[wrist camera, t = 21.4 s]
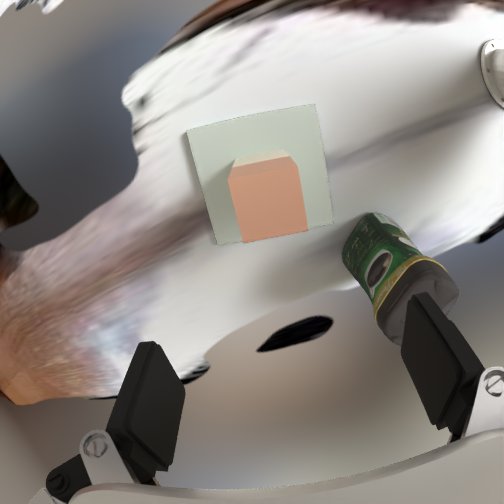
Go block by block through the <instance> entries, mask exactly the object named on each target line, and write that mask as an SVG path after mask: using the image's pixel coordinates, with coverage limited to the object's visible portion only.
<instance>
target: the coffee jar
mask: <svg viewBox="0 0 504 504" xmlns="http://www.w3.org/2000/svg"><path fill="white" fill-rule="evenodd" d="M342 259H343V262H344V264H345V266H346V267H347V269H348V270H349V272H350V273H351V274H352V275H353V276H354V278H355V279H356V280H357V281H358V282H359V284H360V285H361V286H362V288H363V289H364V290H365V292H366V293H367V295H368V296H369V298H370V300H371V302H372V304H373V311H374V318H375V320H376V323H377V325H378V326H379V327H380V329H381V330H382V331H383V333H384V334H385V336H387V338H388V339H389V340H390V341H392V342H393V343H395V344H397V345H400V346H402V340H403V333H404V326H405V318H406V310H407V302H408V300H411V297H412V295H414V294H418V293H422V292H425V291H426V292H428V293H429V295H430V296H431V297H432V298H433V300H434V301H435V302H436V304H437V305H438V306H439V308H440V309H441V310H442V312H443V313H444V314H445V316H447V315H448V313H449V312H450V310H451V309H452V308H453V306H454V304H455V303H456V301H457V298H458V296H459V290H458V288H457V286H456V284H455V282H454V281H453V280H452V278H451V277H450V276H449V274H448V273H447V271H446V269H445V268H444V267H443V266H442V265H441V264H440V263H438V262H437V261H435V260H434V259H432V258H430V257H427V256H423V255H422V254H421V252H420V251H419V250H418V249H417V248H416V247H415V245H414V244H413V243H412V241H411V240H410V239H409V238H408V236H407V235H406V234H405V232H404V231H403V230H402V229H401V228H400V227H399V225H397V224H396V223H395V222H394V221H393V220H391V219H390V218H388V217H387V216H385V215H382V214H379V213H370V214H368V215H366V216H365V217H363V218H362V220H361V221H360V222H359V223H358V225H357V226H356V227H355V229H354V230H353V232H352V234H351V235H350V237H349V239H348V241H347V243H346V245H345V247H344V250H343V253H342Z"/></svg>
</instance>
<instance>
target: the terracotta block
mask: <svg viewBox="0 0 504 504" xmlns="http://www.w3.org/2000/svg"><path fill="white" fill-rule="evenodd" d="M228 184H229V188H230V192H231V196H232V200H233V204H234V208H235V212H236V216H237V220H238V224H239V228H240V232H241V236H242V240H243V243H247V242H252V241H257V240H262V239H267V238H272V237H278V236H283V235H288V234H293V233H298V232H304V231H308V225H307V218H306V212H305V206H304V200H303V194H302V188H301V182H300V176H299V171H298V166H297V164H296V163H295V162H294V161H293V160H292V158H291V157H290V156H287V157H281V158H276V159H271V160H266V161H261V162H256V163H251V164H246V165H242V166H237V167H233V168H232V170H231V172H230V175H229V177H228Z"/></svg>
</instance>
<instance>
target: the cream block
mask: <svg viewBox="0 0 504 504" xmlns="http://www.w3.org/2000/svg"><path fill="white" fill-rule="evenodd" d="M287 156H289V155H288V154H287V153H286V151H285V150H284V149H281V150H276V151H271V152H266V153H261V154H256V155H251V156H247V157H242V158H238V159H235V161H234V164H233V166H232V168H233V167H237V166H242V165H246V164H251V163H256V162H261V161H266V160H271V159H276V158H281V157H287Z"/></svg>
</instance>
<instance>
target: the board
mask: <svg viewBox="0 0 504 504" xmlns="http://www.w3.org/2000/svg"><path fill="white" fill-rule="evenodd" d="M187 135H188V139H189V143H190V147H191V151H192V155H193V158H194V162H195V166H196V170H197V173H198V177H199V181H200V184H201V188H202V192H203V195H204V199H205V203H206V206H207V210H208V213H209V217H210V220H211V224H212V227H213V231H214V234H215V238H216V241H217V245H218V246H220V245H225V244H231V243H236V242H241V241H243V240H242V236H241V232H240V228H239V224H238V220H237V216H236V212H235V208H234V204H233V200H232V196H231V192H230V188H229V184H228V177H229V175H230V172H231V170H232V166H233V164H234V161H235V159H238V158H242V157H247V156H251V155H256V154H261V153H266V152H271V151H276V150H281V149H284V150H285V151H286V153H287V154H288V155H289V156H290V157H291V158H292V160H293V161H294V162H295V163H296V164H297V166H298V171H299V176H300V182H301V188H302V194H303V200H304V206H305V212H306V218H307V225H308V228H313V227H319V226H324V225H329V224H334V221H333V212H332V204H331V196H330V189H329V182H328V175H327V168H326V162H325V156H324V149H323V144H322V138H321V132H320V127H319V121H318V116H317V111H316V106H315V104H311V105H304V106H297V107H291V108H285V109H279V110H273V111H268V112H263V113H258V114H253V115H248V116H243V117H239V118H234V119H230V120H225V121H221V122H217V123H213V124H209V125H205V126H202V127H198V128H194V129H190V130H187Z"/></svg>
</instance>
